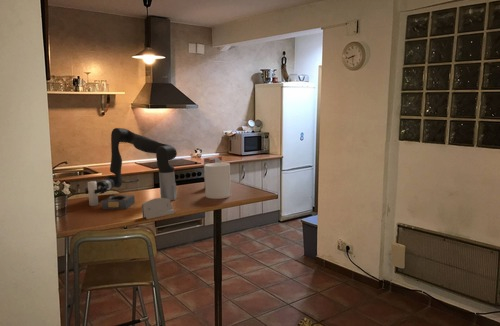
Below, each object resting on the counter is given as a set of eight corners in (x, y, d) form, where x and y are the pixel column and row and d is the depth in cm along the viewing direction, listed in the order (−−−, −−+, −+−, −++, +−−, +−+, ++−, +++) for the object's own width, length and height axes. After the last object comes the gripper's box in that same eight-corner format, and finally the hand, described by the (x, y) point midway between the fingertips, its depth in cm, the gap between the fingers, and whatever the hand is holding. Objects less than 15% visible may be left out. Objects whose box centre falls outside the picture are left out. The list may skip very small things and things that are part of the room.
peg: (99, 204, 244) (97, 181, 242) (96, 206, 239) (94, 182, 237) (91, 204, 244) (89, 181, 242) (88, 206, 239) (85, 182, 237)
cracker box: (211, 188, 279) (209, 158, 276) (204, 187, 283) (202, 158, 280) (223, 184, 291) (222, 155, 288) (216, 184, 294) (215, 155, 291)
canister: (203, 194, 261) (201, 163, 258) (227, 192, 265) (226, 161, 263) (208, 199, 246) (207, 167, 243) (234, 197, 250) (232, 165, 248)
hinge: (146, 219, 206) (142, 200, 208) (142, 220, 210) (138, 201, 211) (175, 213, 216) (171, 195, 218) (171, 214, 220) (167, 196, 221)
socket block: (134, 203, 243) (134, 195, 242) (125, 209, 228) (125, 200, 228) (112, 203, 244) (111, 195, 243) (101, 209, 230) (101, 201, 229)
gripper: (91, 180, 254) (78, 186, 238) (113, 180, 253) (102, 185, 236) (92, 192, 255) (79, 198, 239) (114, 192, 254) (103, 198, 238)
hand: (90, 192), depth 238 cm, fingers closed on peg, 5 cm apart
